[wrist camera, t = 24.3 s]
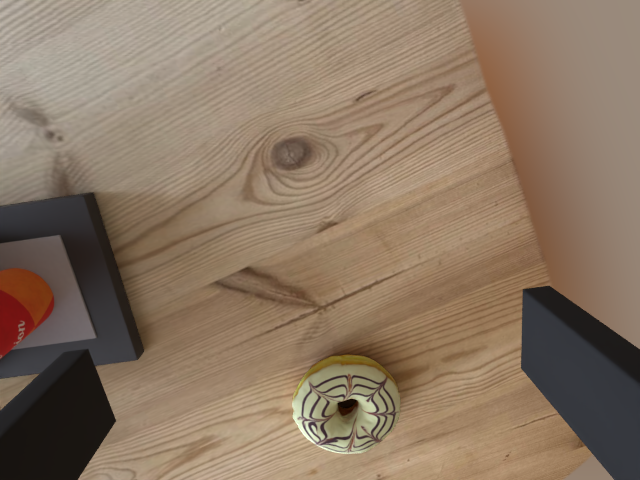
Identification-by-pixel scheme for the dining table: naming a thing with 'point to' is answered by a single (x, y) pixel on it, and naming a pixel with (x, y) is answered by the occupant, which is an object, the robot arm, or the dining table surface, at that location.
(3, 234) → the coffee maker
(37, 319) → the paper cup
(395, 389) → the decorated donut
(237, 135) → the dining table surface
